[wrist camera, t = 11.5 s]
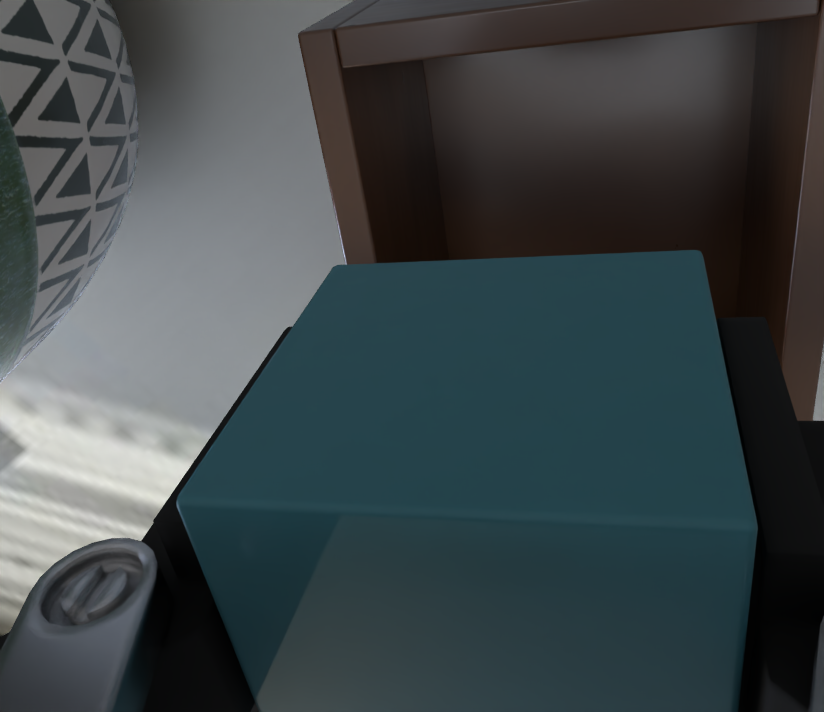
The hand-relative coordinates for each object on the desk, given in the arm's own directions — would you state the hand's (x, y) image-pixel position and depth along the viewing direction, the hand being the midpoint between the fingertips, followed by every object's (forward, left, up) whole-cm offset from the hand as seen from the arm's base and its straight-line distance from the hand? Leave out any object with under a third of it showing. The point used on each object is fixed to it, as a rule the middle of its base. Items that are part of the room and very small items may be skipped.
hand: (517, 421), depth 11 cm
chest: (-2, +2, -18) cm, 19 cm away
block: (0, 0, 0) cm, 0 cm away
